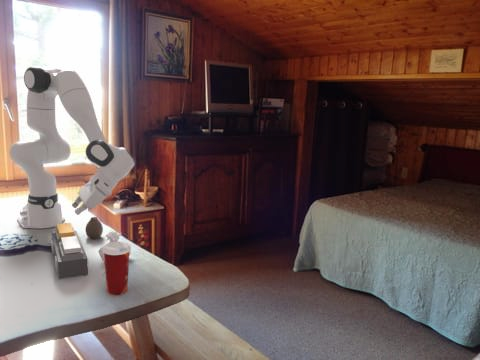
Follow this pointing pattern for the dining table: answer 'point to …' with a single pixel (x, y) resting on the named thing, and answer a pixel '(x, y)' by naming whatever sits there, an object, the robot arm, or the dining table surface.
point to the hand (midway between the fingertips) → (74, 209)
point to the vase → (94, 228)
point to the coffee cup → (116, 267)
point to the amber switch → (65, 230)
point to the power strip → (70, 265)
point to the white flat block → (70, 244)
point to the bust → (113, 238)
